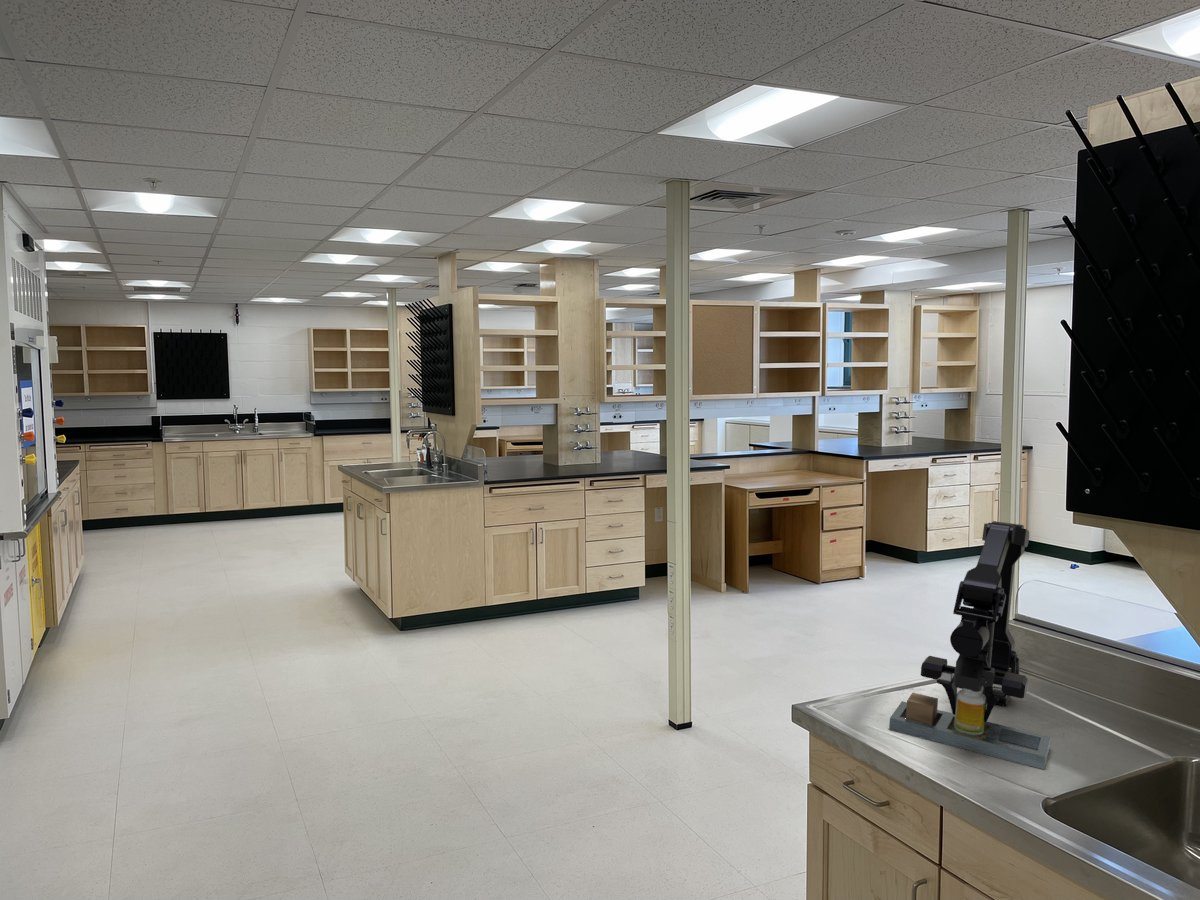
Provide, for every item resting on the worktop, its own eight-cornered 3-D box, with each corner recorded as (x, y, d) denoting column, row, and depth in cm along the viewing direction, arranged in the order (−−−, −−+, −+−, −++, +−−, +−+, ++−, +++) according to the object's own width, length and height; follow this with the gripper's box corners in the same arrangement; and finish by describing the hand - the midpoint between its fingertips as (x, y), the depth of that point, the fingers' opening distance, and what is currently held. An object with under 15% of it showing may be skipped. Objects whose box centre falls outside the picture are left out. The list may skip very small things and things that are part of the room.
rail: (900, 712, 182) (901, 701, 182) (1049, 749, 167) (1050, 736, 167) (889, 729, 174) (890, 717, 173) (1044, 769, 159) (1045, 756, 158)
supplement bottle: (986, 737, 167) (990, 689, 166) (957, 734, 168) (961, 686, 167) (980, 725, 172) (984, 679, 171) (951, 722, 173) (955, 676, 172)
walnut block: (910, 720, 179) (912, 692, 178) (935, 726, 176) (938, 698, 175) (904, 728, 174) (907, 700, 174) (930, 735, 172) (933, 706, 171)
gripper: (917, 643, 166) (911, 720, 168) (1024, 664, 156) (1016, 746, 158) (929, 627, 175) (923, 700, 177) (1031, 647, 166) (1023, 724, 168)
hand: (969, 717), depth 170 cm, fingers closed on supplement bottle, 5 cm apart
